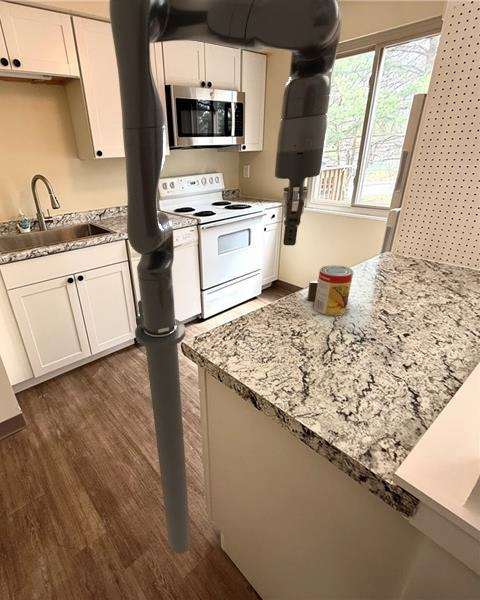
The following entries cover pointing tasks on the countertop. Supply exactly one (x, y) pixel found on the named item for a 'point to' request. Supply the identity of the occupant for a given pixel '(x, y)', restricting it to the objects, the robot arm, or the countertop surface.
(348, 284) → the canned food
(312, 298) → the brown rectangular block
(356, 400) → the countertop surface
